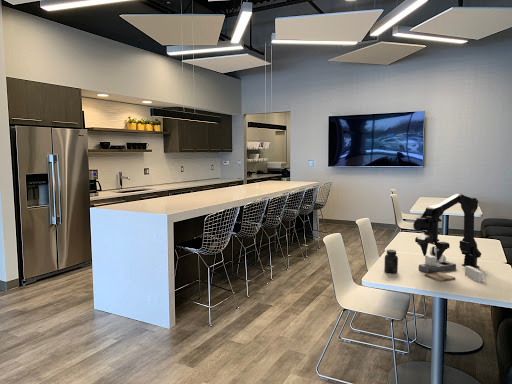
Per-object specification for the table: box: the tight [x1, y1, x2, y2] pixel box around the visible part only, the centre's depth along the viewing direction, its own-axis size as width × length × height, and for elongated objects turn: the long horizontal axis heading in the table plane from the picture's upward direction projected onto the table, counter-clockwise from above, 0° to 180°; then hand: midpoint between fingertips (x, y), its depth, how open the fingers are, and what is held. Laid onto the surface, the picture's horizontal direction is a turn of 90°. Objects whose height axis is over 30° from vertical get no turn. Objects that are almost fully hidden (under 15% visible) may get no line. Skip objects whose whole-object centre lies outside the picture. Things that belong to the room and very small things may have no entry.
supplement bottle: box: [383, 249, 399, 275], centre depth 206 cm, size 7×7×12 cm
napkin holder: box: [464, 266, 484, 283], centre depth 195 cm, size 15×11×6 cm
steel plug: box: [424, 255, 437, 267], centre depth 208 cm, size 4×4×8 cm
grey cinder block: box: [418, 260, 457, 274], centre depth 211 cm, size 20×7×3 cm, turn 112°
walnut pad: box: [424, 272, 456, 283], centre depth 197 cm, size 10×10×1 cm
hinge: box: [429, 245, 447, 262], centre depth 229 cm, size 17×5×10 cm, turn 148°
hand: (431, 257), depth 208 cm, fingers open, 9 cm apart
